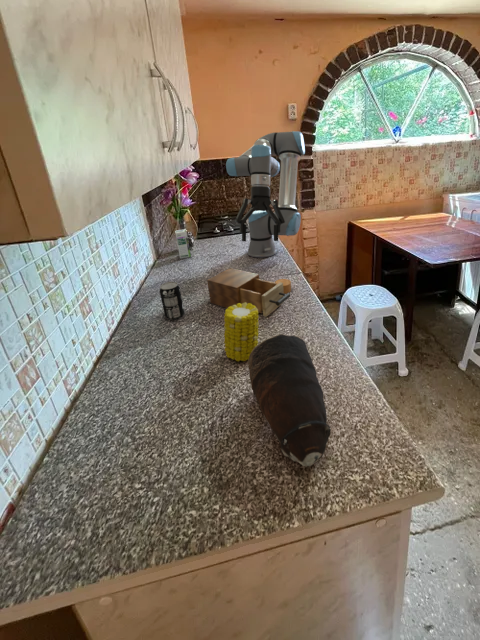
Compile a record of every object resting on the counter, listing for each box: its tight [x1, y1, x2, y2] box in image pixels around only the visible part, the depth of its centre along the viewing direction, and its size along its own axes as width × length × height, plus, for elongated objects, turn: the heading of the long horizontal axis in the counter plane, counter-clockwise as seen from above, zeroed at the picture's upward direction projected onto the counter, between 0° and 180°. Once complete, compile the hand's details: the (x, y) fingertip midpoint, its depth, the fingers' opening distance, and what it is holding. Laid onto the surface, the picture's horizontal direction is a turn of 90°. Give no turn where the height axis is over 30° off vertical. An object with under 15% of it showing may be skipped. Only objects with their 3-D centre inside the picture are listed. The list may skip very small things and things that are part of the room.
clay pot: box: [247, 333, 332, 467], centre depth 64 cm, size 15×15×25 cm
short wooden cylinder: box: [274, 278, 292, 294], centre depth 124 cm, size 6×6×4 cm
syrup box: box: [174, 228, 192, 260], centre depth 166 cm, size 6×6×14 cm
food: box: [223, 302, 260, 362], centre depth 87 cm, size 15×12×10 cm
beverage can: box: [159, 281, 185, 321], centre depth 108 cm, size 7×7×12 cm
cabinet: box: [206, 267, 260, 309], centre depth 117 cm, size 15×13×10 cm
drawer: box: [239, 278, 291, 318], centre depth 110 cm, size 18×11×8 cm, turn 58°
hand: (260, 241), depth 123 cm, fingers open, 13 cm apart
